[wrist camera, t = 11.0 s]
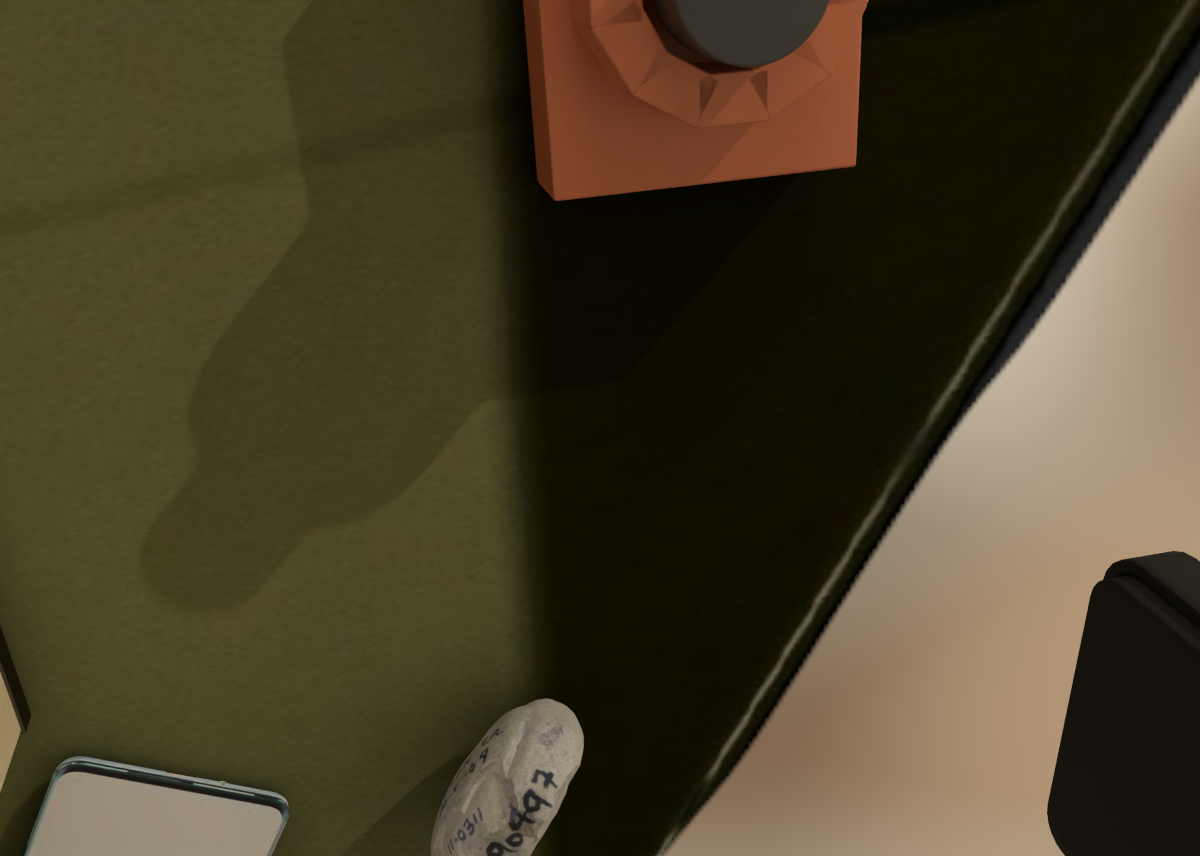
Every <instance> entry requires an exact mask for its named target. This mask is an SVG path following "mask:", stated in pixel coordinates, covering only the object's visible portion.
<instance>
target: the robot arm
mask: <svg viewBox="0 0 1200 856" xmlns="http://www.w3.org/2000/svg"><path fill="white" fill-rule="evenodd" d="M1047 815H1048V822H1049V826H1050V829H1051V833H1052V835H1053V837H1054V839H1055V841H1056V844H1057V845H1058V846H1059V848H1060V849H1061V851H1062V852H1063V854H1064V855H1065V856H1200V562H1199V561H1198V560H1197V559H1196V558H1194V557H1192V556H1190V555H1188V554H1186V553H1184V552H1177V551H1172V552H1165V553H1159V554H1153V555H1147V556H1142V557H1136V558H1130V559H1124V560H1120V561H1117V562H1115V563H1113V564H1112V565H1111V566H1110V567H1109V568H1108V570H1107V571H1106V573H1105V576H1104V579H1103V580H1102V581H1099V582H1098V583H1097V584H1096V585H1095V586H1094V587H1093V590H1092V593H1091V596H1090V601H1089V606H1088V611H1087V615H1086V621H1085V625H1084V630H1083V635H1082V640H1081V645H1080V650H1079V655H1078V660H1077V664H1076V670H1075V674H1074V679H1073V684H1072V689H1071V694H1070V698H1069V703H1068V708H1067V714H1066V718H1065V723H1064V728H1063V733H1062V737H1061V742H1060V747H1059V753H1058V757H1057V762H1056V767H1055V772H1054V777H1053V781H1052V786H1051V791H1050V796H1049V801H1048V809H1047Z"/></svg>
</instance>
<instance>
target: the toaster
mask: <svg viewBox="0 0 1200 856" xmlns="http://www.w3.org/2000/svg"><path fill="white" fill-rule="evenodd" d="M30 718H31V713H30V710H29V707H28V705H27V702H26V699H25V696H24V693H23V690H22V687H21V684H20V682H19V679H18V676H17V673H16V670H15V667H14V664H13V661H12V659H11V656H10V653H9V650H8V647H7V644H6V641H5V638H4V636H3V633H2V630H1V627H0V791H1V788H2V785H3V782H4V779H5V776H6V773H7V771H8V768H9V765H10V762H11V759H12V756H13V753H14V750H15V747H16V744H17V741H18V738H19V735H20V734H21V733H25V732H26V730H27V727H28V724H29V721H30Z"/></svg>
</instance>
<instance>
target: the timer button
mask: <svg viewBox="0 0 1200 856" xmlns="http://www.w3.org/2000/svg"><path fill="white" fill-rule="evenodd" d="M829 1H830V0H653V3H654V6H655V8H656V11H657V14H658V16H659V18H660V20H661V22H662V23H663V25H664V26H665V28H666V29H667V31H668V32H669V33H670V34H671V35H672V36H673V38H674V39H675V40H677V41H678V42H679V43H680V44H681V45H683V46H684V47H686V48H687V49H689V50H690V51H693V52H695V53H697V54H699V55H702V56H705V57H708V58H710V59H713V60H716V61H719V62H721V63H724V64H728V65H732V66H737V67H757V66H763V65H767V64H770V63H773V62H776V61H778V60H780V59H782V58H784V57H786V56H787V55H789V54H791V53H792V52H794V51H795V50H796V49H797V48H798V47H800V46H801V45H802V44H803V43H804V42H805V41H806V40H807V39H808V38H809V37H810V35H811V34H812V33H813V31H814V30H815V29H816V27H817V26H818V24H819V23H820V21H821V19H822V17H823V15H824V13H825V11H826V9H827V6H828V4H829Z"/></svg>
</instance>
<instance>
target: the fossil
mask: <svg viewBox="0 0 1200 856" xmlns="http://www.w3.org/2000/svg"><path fill="white" fill-rule="evenodd" d="M583 747H584V737H583V733H582V730H581V727H580V725H579V722H578V720H577V718H576V716H575V714H574V713H573V712H572V711H571V710H570V709H569V708H568V707H567V706H565V705H563V704H561V703H559V702H556V701H554V700H552V699H540V700H536V701H533V702H530V703H528V704H527V705H525V706H521V707H517V708H515V709H512V710H510V711H509V712H507V713H505V714H504V715H503V716H502V717H500V718H499V719H498V720H497V721H496V722H495V723H494V724H493V725H492V726H491V728H490V729H489V730H488V731H487V733H486V734H485V735H484V737H483V738H482V739H481V740H480V742H479V743H478V744H477V746H476V747H475V748H474V749H473V751H472V752H471V753H470V754H469V755H468V757H467V758H466V759H465V761H464V762H463V764H462V765H461V767H460V768H459V770H458V772H457V773H456V775H455V777H454V778H453V780H452V782H451V784H450V786H449V788H448V790H447V792H446V794H445V796H444V799H443V801H442V803H441V806H440V808H439V812H438V815H437V818H436V822H435V826H434V829H433V834H432V839H431V847H430V854H431V856H530V855H531V853H532V852H533V850H534V848H535V846H536V845H537V843H538V842H539V840H540V839H541V838H542V836H543V834H544V833H545V831H546V830H547V828H548V826H549V824H550V822H551V821H552V819H553V818H554V816H555V815H556V814H557V812H558V809H559V807H560V805H561V802H562V800H563V798H564V796H565V795H566V792H567V788H568V785H569V782H570V781H571V779H572V778H573V776H574V774H575V773H576V771H577V769H578V768H579V766H580V762H581V758H582V753H583Z"/></svg>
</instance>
